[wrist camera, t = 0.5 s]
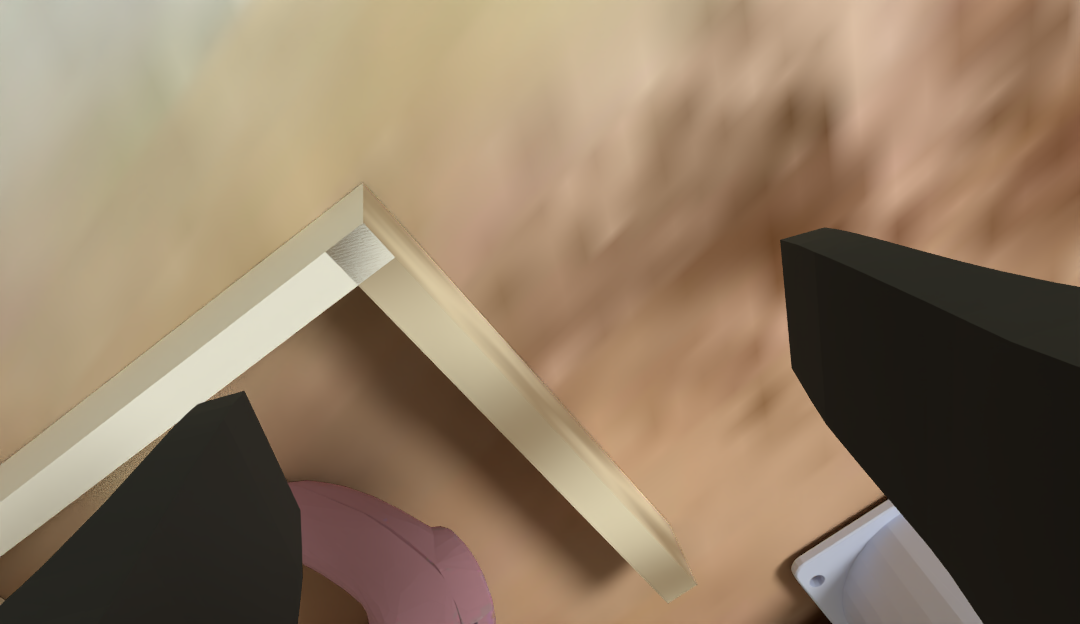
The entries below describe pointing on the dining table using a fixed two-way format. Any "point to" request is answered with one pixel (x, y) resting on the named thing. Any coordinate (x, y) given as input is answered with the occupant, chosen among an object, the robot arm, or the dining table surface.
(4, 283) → the dining table surface
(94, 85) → the dining table surface
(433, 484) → the dining table surface
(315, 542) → the video game controller
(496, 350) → the bay
